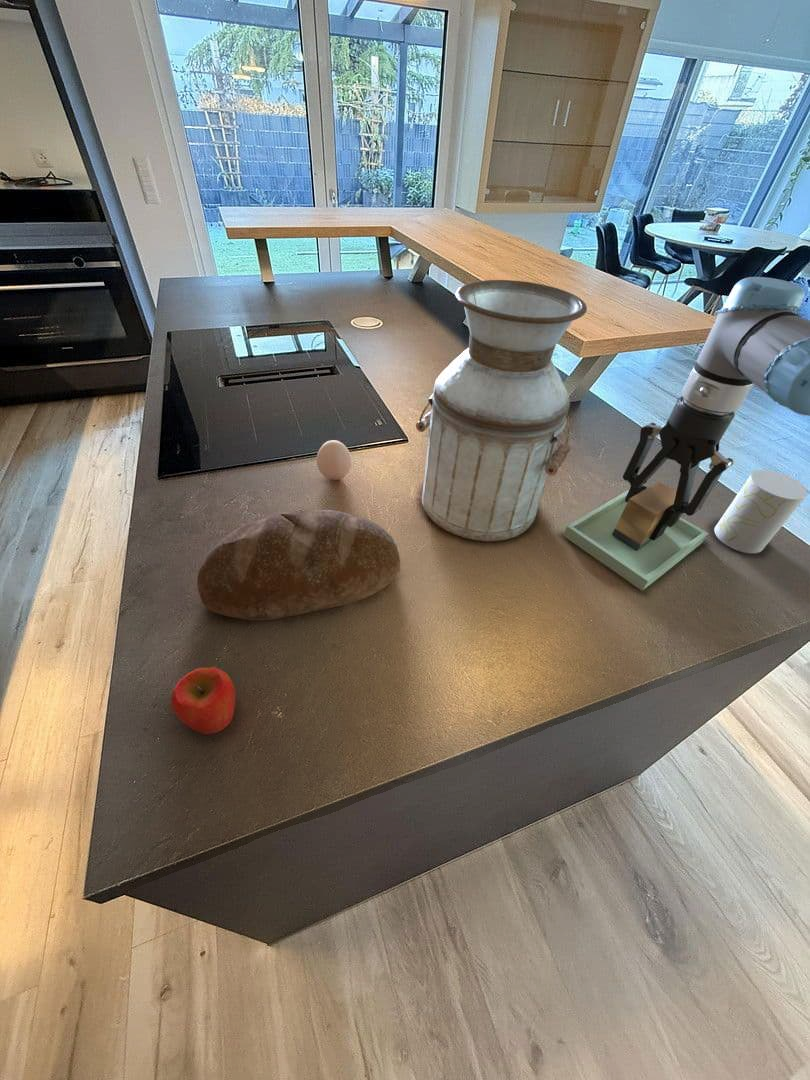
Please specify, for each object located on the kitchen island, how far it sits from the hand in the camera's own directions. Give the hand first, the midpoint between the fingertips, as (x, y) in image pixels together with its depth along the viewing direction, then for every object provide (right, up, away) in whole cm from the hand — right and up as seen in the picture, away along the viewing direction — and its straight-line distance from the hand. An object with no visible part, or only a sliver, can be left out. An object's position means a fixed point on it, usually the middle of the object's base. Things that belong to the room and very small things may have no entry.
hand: (641, 527), depth 81 cm
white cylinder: (+19, -2, +3) cm, 20 cm away
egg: (-55, +10, +10) cm, 57 cm away
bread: (-57, -9, -10) cm, 58 cm away
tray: (-1, -2, +1) cm, 3 cm away
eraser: (0, -1, +1) cm, 1 cm away
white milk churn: (-28, +5, +7) cm, 29 cm away
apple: (-64, -23, -26) cm, 73 cm away
